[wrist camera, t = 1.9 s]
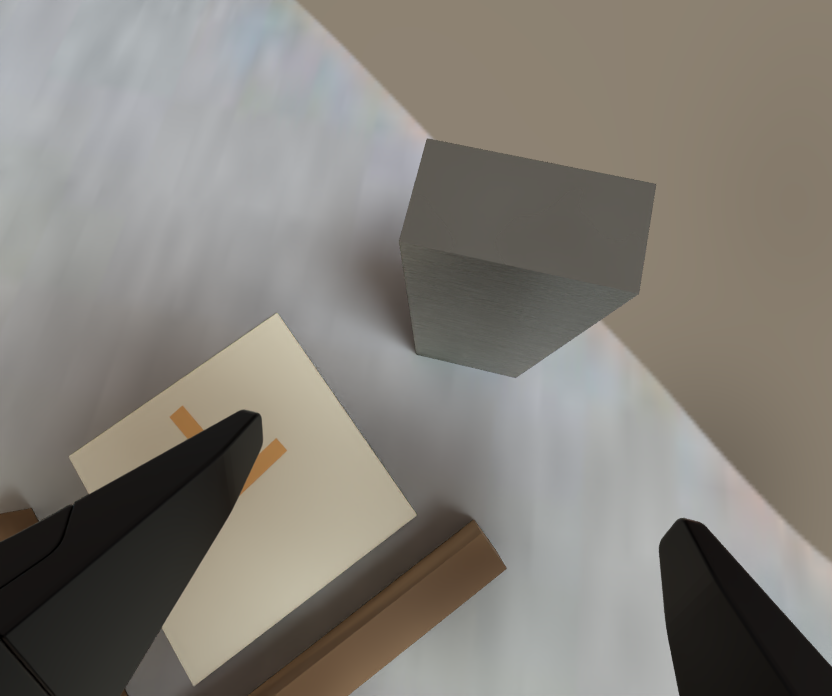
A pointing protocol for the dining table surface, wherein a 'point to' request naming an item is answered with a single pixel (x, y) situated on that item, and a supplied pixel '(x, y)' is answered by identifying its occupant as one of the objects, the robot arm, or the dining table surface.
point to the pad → (260, 491)
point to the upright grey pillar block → (516, 254)
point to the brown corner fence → (372, 615)
